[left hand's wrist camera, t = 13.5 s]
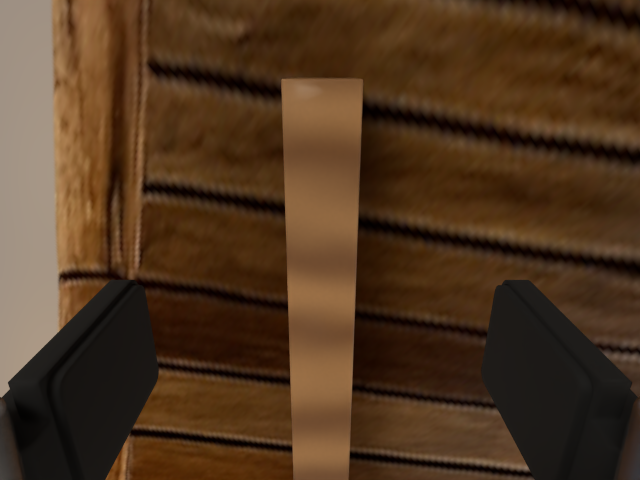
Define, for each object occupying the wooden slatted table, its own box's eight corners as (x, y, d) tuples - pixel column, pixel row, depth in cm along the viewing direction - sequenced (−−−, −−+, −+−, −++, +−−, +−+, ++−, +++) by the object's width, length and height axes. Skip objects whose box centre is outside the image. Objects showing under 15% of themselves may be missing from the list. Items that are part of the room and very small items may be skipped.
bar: (288, 77, 30) (281, 78, 24) (355, 77, 30) (363, 79, 24) (300, 547, 48) (297, 610, 42) (341, 547, 48) (344, 610, 42)
